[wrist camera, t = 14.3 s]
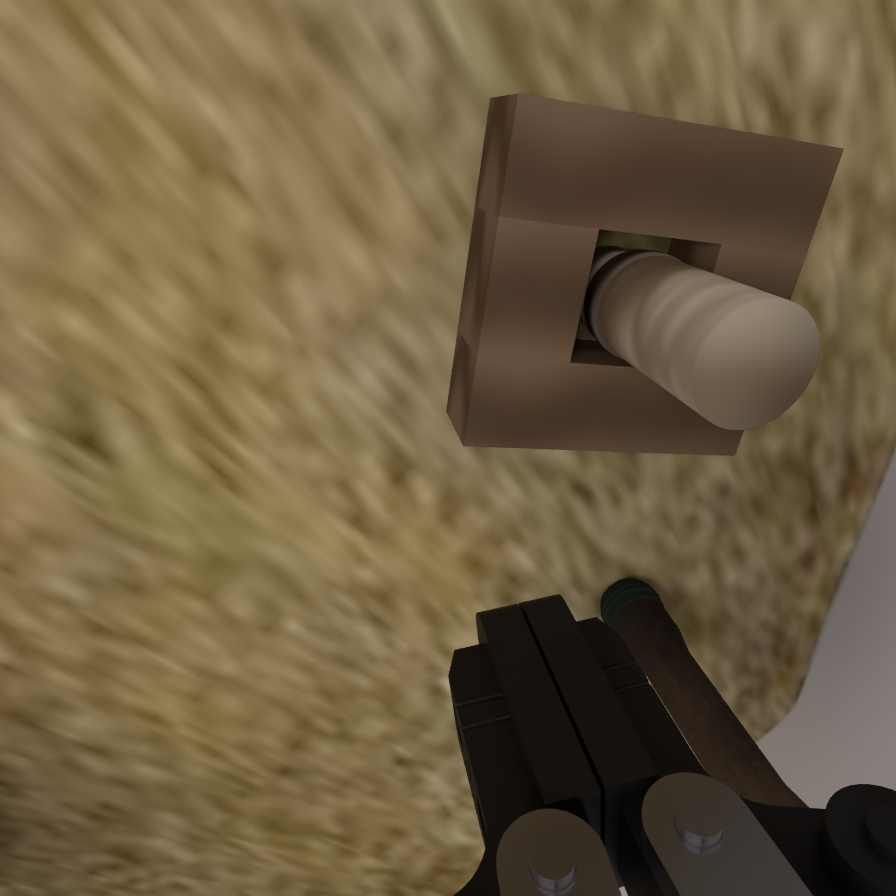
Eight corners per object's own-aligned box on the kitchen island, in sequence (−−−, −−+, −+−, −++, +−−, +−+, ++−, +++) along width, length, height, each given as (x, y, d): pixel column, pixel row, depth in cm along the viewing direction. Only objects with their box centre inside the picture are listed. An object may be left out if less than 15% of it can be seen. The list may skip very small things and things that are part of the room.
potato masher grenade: (530, 621, 40) (969, 1593, 13) (621, 517, 38) (1361, 1439, 11) (624, 665, 43) (1120, 1509, 17) (712, 573, 41) (1442, 1378, 15)
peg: (569, 231, 29) (716, 288, 19) (658, 242, 31) (844, 302, 20) (549, 328, 31) (672, 430, 21) (634, 336, 32) (792, 435, 22)
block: (490, 98, 26) (518, 93, 23) (780, 146, 30) (843, 148, 26) (446, 411, 32) (463, 445, 29) (692, 423, 36) (734, 455, 32)
